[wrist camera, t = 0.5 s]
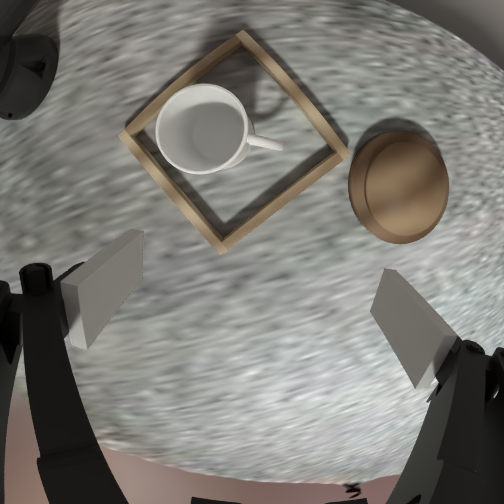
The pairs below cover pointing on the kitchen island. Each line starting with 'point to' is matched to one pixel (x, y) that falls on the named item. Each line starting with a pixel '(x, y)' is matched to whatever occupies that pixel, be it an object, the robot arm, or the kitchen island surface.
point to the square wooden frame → (277, 202)
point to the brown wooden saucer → (398, 186)
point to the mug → (206, 130)
